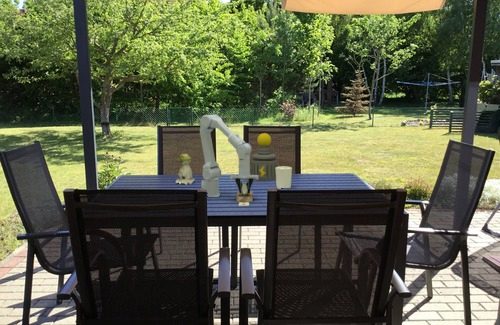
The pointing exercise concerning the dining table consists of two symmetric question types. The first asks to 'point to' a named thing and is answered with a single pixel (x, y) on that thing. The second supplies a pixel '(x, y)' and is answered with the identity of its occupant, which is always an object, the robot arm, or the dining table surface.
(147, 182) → the dining table surface
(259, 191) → the dining table surface
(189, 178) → the cream figurine
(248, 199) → the tan frame
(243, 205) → the key card
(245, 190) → the pin
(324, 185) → the dining table surface
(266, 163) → the decorative lamp
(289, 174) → the candle holder
